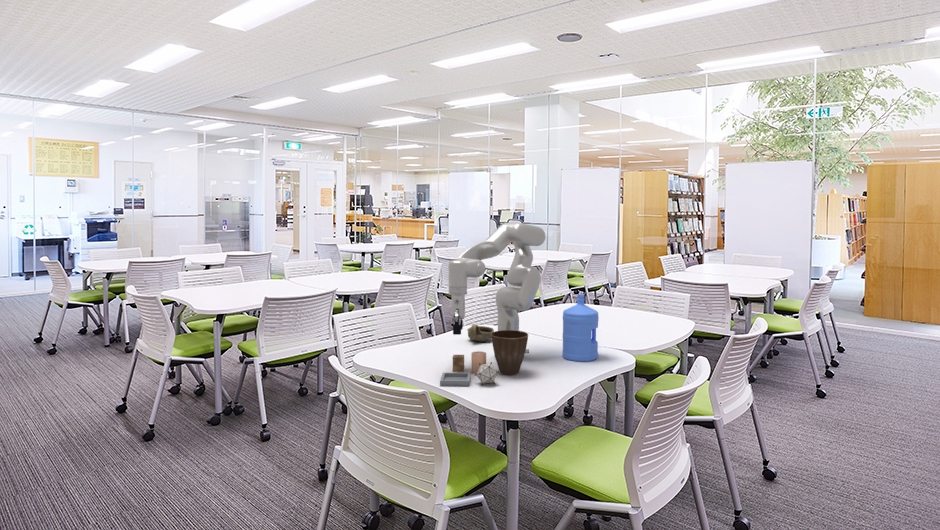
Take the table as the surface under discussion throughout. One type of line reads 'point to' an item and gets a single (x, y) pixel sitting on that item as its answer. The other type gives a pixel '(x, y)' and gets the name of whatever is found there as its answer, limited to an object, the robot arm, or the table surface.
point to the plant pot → (509, 350)
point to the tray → (455, 379)
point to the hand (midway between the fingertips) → (457, 331)
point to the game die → (486, 373)
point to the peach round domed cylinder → (477, 360)
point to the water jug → (580, 332)
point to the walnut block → (458, 363)
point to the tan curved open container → (480, 333)
